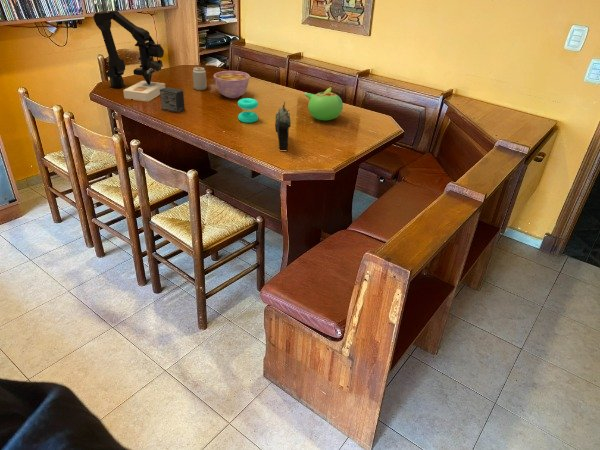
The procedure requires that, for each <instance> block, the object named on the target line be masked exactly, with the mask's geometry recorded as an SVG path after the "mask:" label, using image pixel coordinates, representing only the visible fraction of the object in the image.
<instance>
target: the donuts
mask: <svg viewBox="0 0 600 450" xmlns="http://www.w3.org/2000/svg"><path fill="white" fill-rule="evenodd" d="M237 105H238V107H239V108H240V109H243V110H246V111H242V112H240V113H238V116H237V118H238V120H239V121H240V122H242V123H247V124H250V123H255V122H257V121H258V120H259V115H258V114H257V113H256V112H254V111H250V110H254V109H256V108H258V105H259V102H258V100H257V99H254V98H252V97H251V98H250V97H249V98H248V97H246V98H245V97H244V98H240V99H239V100H238V101H237ZM248 110H249V111H248Z"/></svg>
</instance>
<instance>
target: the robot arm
mask: <svg viewBox="0 0 600 450" xmlns="http://www.w3.org/2000/svg"><path fill="white" fill-rule="evenodd" d="M92 18H93V21H94V23H95V26H97V28H98V29H99V31H101V35H102V39H103V42H104V45H105V49H106V52H107V55H108V70H107V71H106V73H105V75H106V76H107V78H109V81H110V82H109V83H110V86H109V88H111V89H112V88H113V89H121V88H124V87H125V86H126V84H125V83H124V78H123V75H124V74H125V71H126V67H127V65H125V64H126V63H125V61H124V59H121V57H120V56H119V55H118V51H117V47H116V44H115V41H114V37H113V34H112V30H111V29H112V28H111V27H112V20H113V21H114V22H116V23H117V24H118V25H119V26H121V27H122V28H123V29H125V30H126V31H127V32H128V33H130V35H131V36H132V38H133V39H134V40H135V41H136V43H135V44H134V47H137V48H138V53H139V56H138V60H139V61H140V65H139V67H136V68H134V69H133V71H132V72H133V75H135V76H142V78H143V79H144V81H146V82H147V84H150V83H151V82H152V76H153V74H154V73H155V72H159V71H161V70H162V67H163V66H164V65H163V60H161V59H162V58H163V57H164V55H165V51H164V48H163V47H162V46H161V45H162V44H161V43H156V42H155V40H154V39H153V38H152V36H151V35H150V32H149V30H147V29H145V28H143V27H140V26H138V25H136V24H135V23H133V22H132V21H131V20H129V19H128V18H126V17H125V16H124V15H122V14H121V13H120V11H118V10H116V9H114V10H109V11H105V10H104V11H103V10H102V11H97V12H95V13H94V14H93V17H92ZM154 58H157V59H158V58H159V59H158V60H154Z"/></svg>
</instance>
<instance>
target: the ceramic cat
mask: <svg viewBox="0 0 600 450" xmlns="http://www.w3.org/2000/svg"><path fill="white" fill-rule="evenodd" d="M285 105H286V102H285V101H284V102H283V105H282V107H281V108H279V109H278V112H277V113H275V122H274V123H275V124H274V129H275V132H276V133H277V137H278V149H280V150H287V151H288V148H289V131H290V128H291V126H292V125H291V115H290V113H289V109H287V108H285ZM280 150H279V151H280Z"/></svg>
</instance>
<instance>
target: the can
mask: <svg viewBox="0 0 600 450" xmlns="http://www.w3.org/2000/svg"><path fill="white" fill-rule="evenodd" d="M192 80H193V81H192V82H193V89H194V90H196V91H204V90H206V89H207V88H208V87H207V71H206V70H205V67H202V66H197V67H196V66H195V67H193V70H192Z"/></svg>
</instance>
